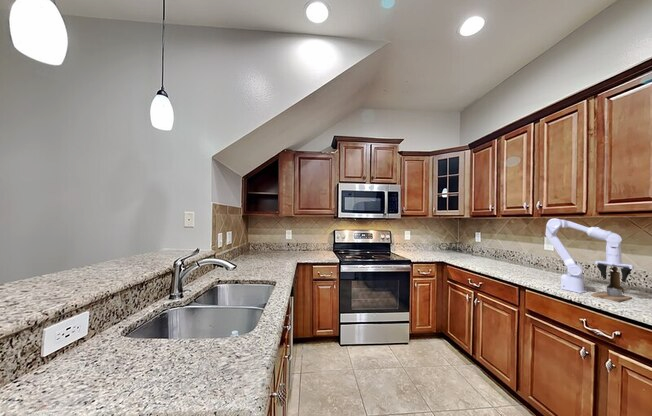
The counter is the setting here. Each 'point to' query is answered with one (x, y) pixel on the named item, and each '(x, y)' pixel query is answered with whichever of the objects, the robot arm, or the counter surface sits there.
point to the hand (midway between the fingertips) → (614, 279)
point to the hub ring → (614, 292)
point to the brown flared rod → (615, 279)
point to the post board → (605, 296)
